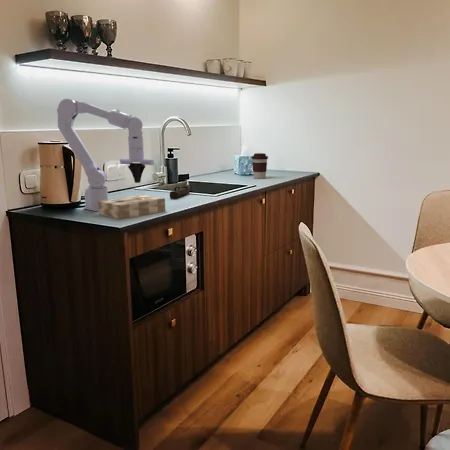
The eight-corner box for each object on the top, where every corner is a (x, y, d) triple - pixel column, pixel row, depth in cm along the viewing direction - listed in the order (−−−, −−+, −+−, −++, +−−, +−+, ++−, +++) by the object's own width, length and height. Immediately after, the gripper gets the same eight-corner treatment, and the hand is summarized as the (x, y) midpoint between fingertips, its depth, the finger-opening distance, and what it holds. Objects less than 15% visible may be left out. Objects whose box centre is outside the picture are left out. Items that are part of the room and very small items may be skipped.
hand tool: (177, 199, 212) (177, 189, 211) (169, 199, 213) (169, 189, 212) (194, 193, 229) (194, 184, 228) (186, 193, 231) (186, 184, 230)
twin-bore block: (99, 214, 179) (98, 201, 178) (143, 206, 194) (142, 194, 193) (120, 219, 169) (120, 205, 168) (165, 210, 185) (164, 198, 184)
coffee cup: (248, 177, 290) (248, 153, 287) (262, 177, 294) (262, 152, 291) (256, 179, 281) (256, 154, 278) (270, 178, 285) (271, 153, 282)
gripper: (114, 148, 185) (116, 182, 188) (146, 149, 179) (148, 184, 182) (124, 147, 191) (126, 180, 194) (155, 148, 186) (157, 182, 189)
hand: (137, 182), depth 189 cm, fingers closed
